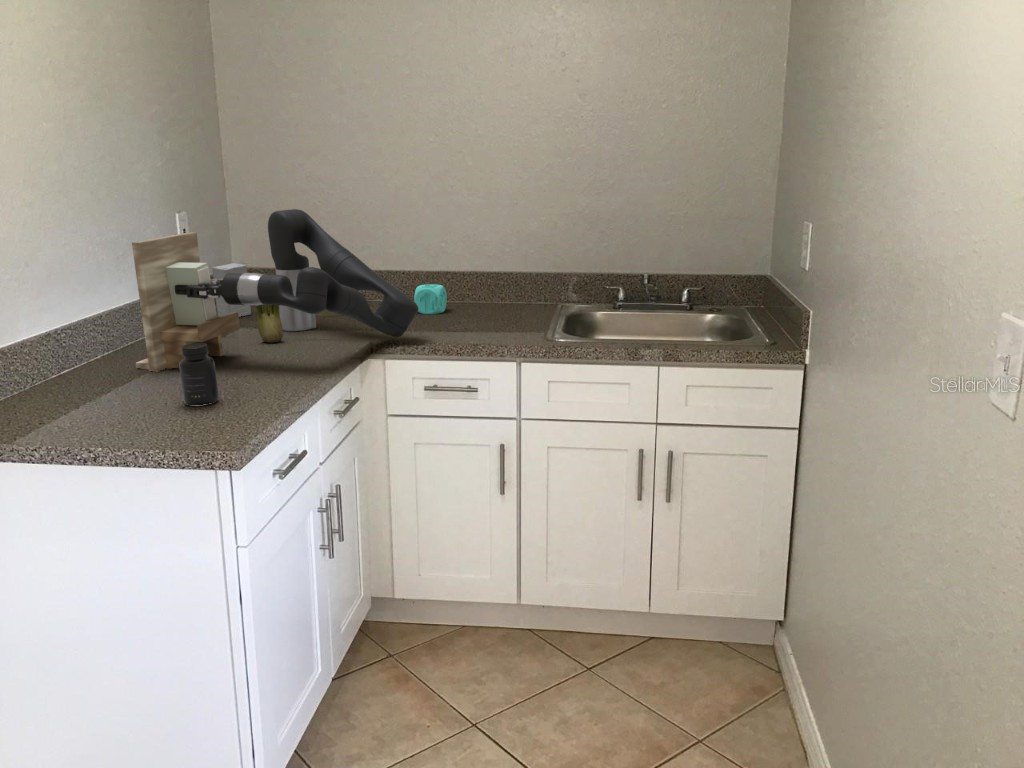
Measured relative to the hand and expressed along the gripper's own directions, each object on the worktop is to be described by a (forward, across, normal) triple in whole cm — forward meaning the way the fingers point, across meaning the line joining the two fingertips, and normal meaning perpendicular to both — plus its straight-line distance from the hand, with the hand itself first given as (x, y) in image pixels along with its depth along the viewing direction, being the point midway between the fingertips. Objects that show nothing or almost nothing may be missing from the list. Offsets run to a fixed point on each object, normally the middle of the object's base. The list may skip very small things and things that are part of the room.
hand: (183, 287), depth 202 cm
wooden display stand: (0, 0, -18) cm, 18 cm away
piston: (-8, +63, -18) cm, 66 cm away
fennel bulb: (-9, +22, -18) cm, 31 cm away
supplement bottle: (-22, -31, -18) cm, 42 cm away
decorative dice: (-38, +69, -18) cm, 81 cm away
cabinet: (-2, +1, -8) cm, 9 cm away
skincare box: (+20, +53, -18) cm, 59 cm away
